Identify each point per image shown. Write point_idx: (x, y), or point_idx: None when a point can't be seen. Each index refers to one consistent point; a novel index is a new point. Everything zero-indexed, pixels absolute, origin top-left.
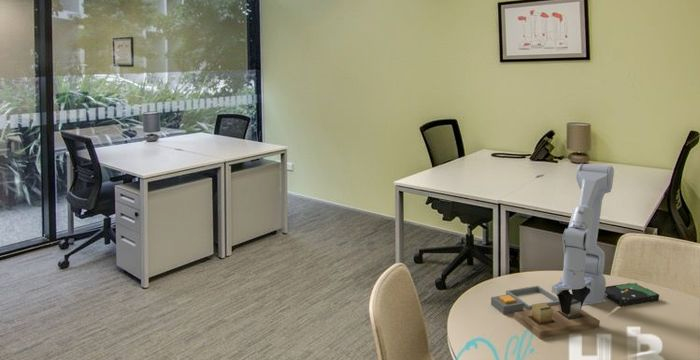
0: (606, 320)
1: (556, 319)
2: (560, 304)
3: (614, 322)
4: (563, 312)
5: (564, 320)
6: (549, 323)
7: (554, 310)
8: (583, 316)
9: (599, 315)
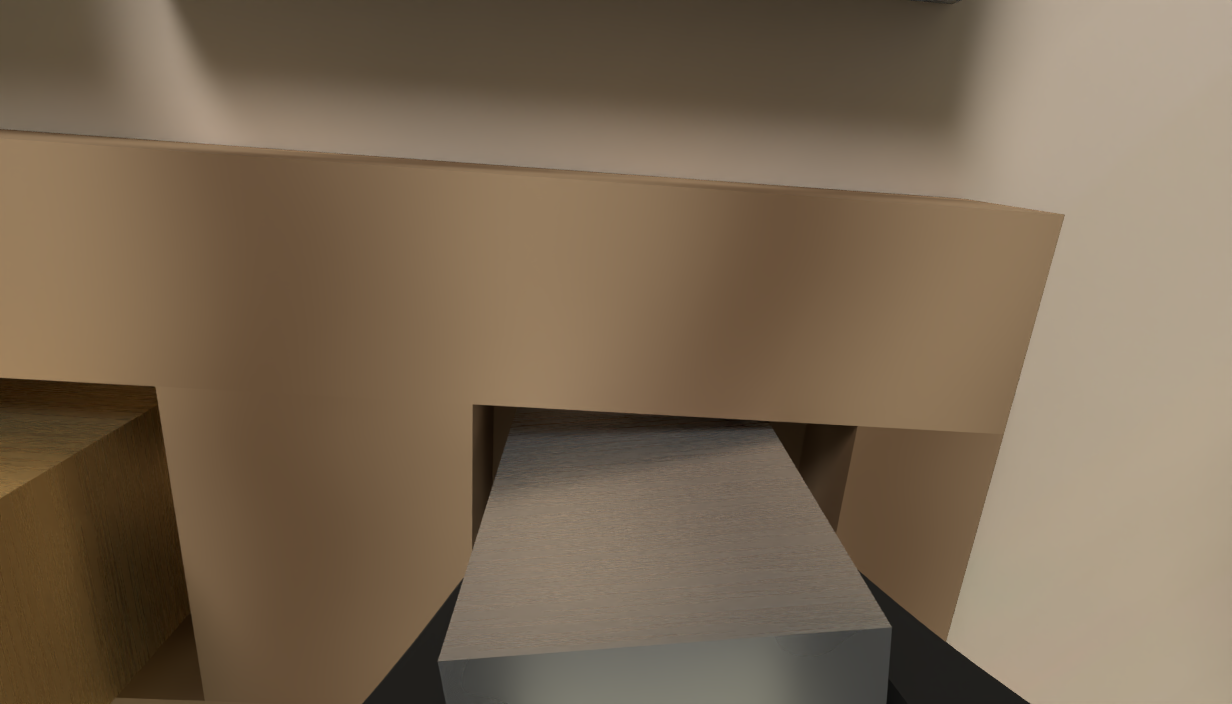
0: (1124, 627)
1: (267, 637)
2: (378, 696)
3: (1156, 693)
4: None
5: None
6: None
7: (458, 362)
8: None
9: (1190, 497)
